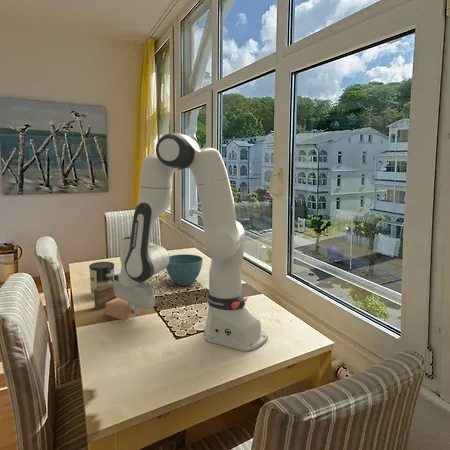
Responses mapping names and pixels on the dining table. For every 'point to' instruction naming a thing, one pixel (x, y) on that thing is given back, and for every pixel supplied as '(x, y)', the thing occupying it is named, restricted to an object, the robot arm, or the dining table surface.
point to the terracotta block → (119, 309)
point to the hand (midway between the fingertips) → (134, 313)
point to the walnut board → (103, 296)
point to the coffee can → (101, 275)
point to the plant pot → (184, 268)
